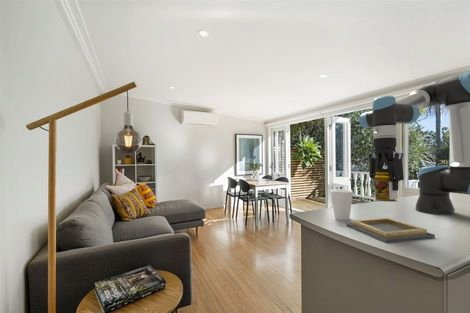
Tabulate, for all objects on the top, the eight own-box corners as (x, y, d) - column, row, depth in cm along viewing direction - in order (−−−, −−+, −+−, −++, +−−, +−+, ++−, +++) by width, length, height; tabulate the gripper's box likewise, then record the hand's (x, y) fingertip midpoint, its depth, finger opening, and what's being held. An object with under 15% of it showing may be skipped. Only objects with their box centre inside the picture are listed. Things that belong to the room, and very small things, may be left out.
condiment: (375, 201, 88) (374, 169, 88) (372, 197, 95) (371, 168, 95) (398, 202, 85) (397, 169, 85) (393, 198, 92) (392, 168, 92)
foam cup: (333, 220, 106) (332, 191, 106) (329, 215, 115) (329, 189, 115) (355, 221, 103) (355, 192, 104) (350, 216, 112) (350, 189, 113)
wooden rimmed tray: (387, 222, 101) (387, 216, 101) (434, 237, 81) (434, 230, 81) (346, 225, 97) (346, 219, 97) (386, 242, 78) (385, 235, 78)
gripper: (358, 139, 98) (359, 194, 98) (398, 135, 79) (399, 202, 79) (373, 139, 100) (374, 193, 99) (416, 135, 81) (417, 201, 81)
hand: (385, 197), depth 89 cm, fingers closed on condiment, 6 cm apart
